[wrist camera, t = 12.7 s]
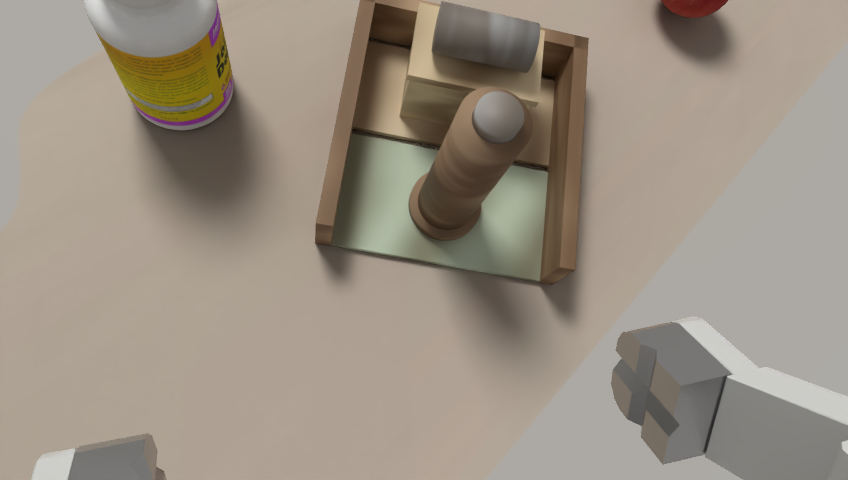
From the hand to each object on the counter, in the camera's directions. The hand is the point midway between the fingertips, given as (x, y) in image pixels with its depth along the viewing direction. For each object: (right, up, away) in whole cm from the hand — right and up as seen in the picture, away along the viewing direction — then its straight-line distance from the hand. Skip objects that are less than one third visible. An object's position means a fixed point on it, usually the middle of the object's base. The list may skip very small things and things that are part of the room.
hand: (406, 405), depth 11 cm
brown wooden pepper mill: (+2, +5, +32) cm, 32 cm away
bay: (+2, +9, +34) cm, 35 cm away
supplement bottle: (-16, +13, +32) cm, 38 cm away
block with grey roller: (+3, +13, +35) cm, 37 cm away
